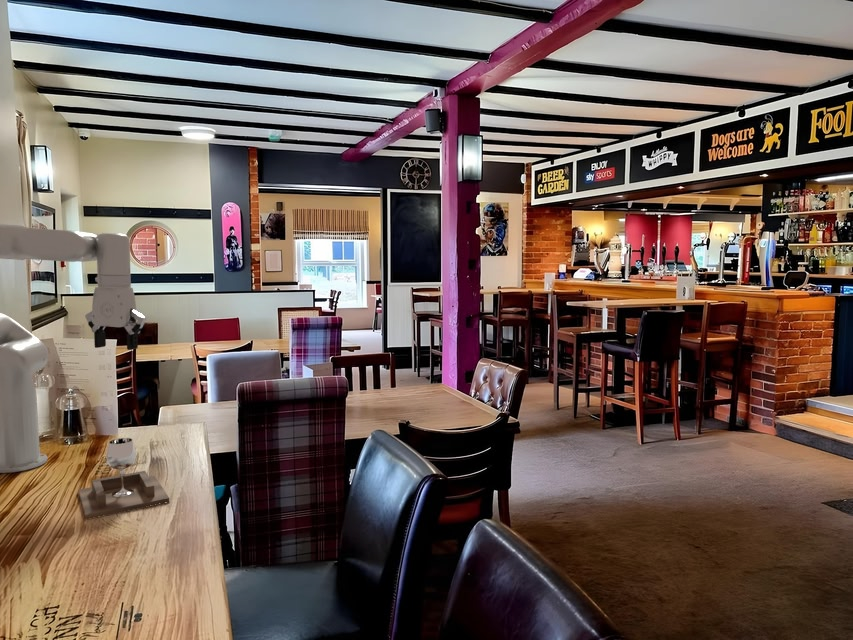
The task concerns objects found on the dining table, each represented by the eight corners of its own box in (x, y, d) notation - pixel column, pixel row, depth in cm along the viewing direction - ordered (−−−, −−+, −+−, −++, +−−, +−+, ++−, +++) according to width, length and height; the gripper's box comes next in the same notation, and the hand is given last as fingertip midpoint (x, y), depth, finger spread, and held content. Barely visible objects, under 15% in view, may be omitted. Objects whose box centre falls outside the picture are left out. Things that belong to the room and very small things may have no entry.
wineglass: (140, 494, 132) (138, 441, 131) (111, 500, 129) (109, 446, 128) (133, 486, 137) (131, 435, 136) (105, 492, 133) (103, 440, 132)
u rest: (78, 493, 135) (77, 478, 134) (155, 479, 144) (154, 465, 144) (85, 519, 122) (85, 503, 121) (169, 502, 131) (168, 486, 130)
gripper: (74, 281, 151) (76, 348, 152) (133, 283, 147) (135, 352, 149) (96, 280, 158) (98, 344, 160) (153, 282, 154) (155, 348, 156)
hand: (116, 348), depth 154 cm, fingers open, 9 cm apart
